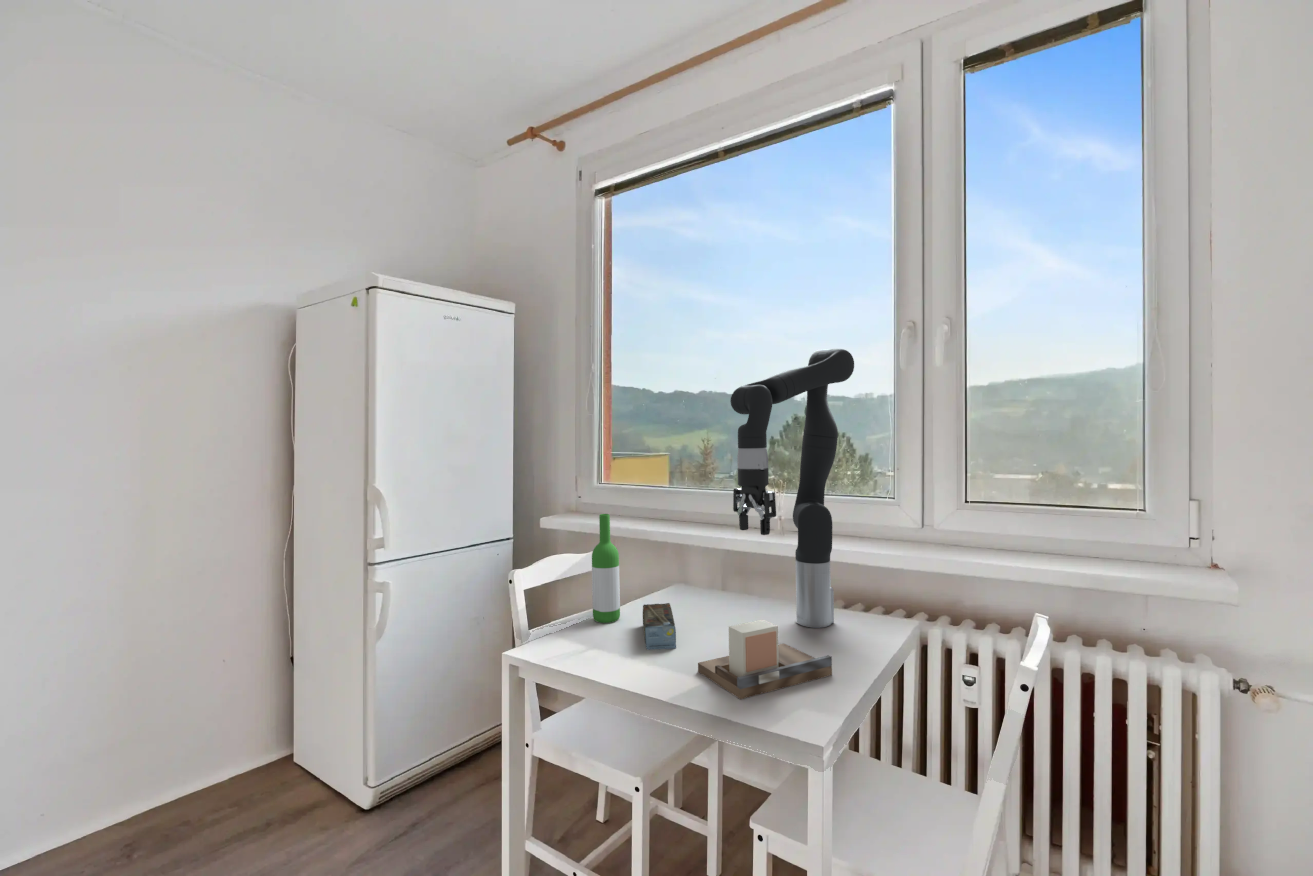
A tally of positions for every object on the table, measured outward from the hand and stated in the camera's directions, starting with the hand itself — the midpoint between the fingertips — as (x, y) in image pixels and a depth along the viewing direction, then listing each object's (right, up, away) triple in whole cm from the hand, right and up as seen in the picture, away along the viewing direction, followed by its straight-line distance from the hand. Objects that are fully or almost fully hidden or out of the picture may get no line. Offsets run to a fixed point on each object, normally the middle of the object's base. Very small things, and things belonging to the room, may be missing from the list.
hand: (754, 532), depth 149 cm
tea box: (-4, -26, -22) cm, 34 cm away
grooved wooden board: (-1, -28, -17) cm, 33 cm away
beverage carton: (-24, -29, +8) cm, 38 cm away
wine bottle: (-38, -29, +23) cm, 53 cm away
